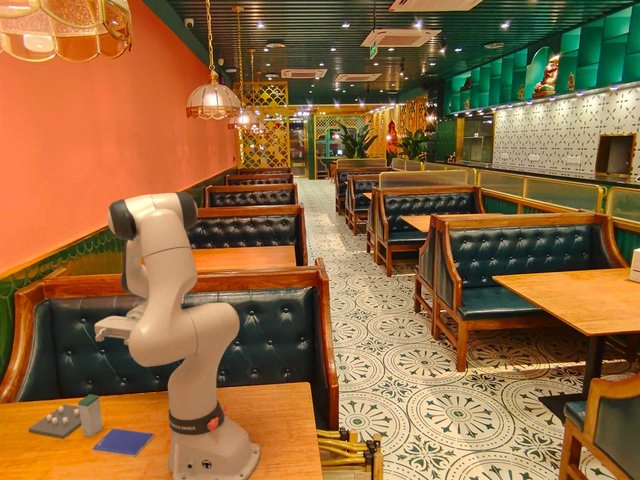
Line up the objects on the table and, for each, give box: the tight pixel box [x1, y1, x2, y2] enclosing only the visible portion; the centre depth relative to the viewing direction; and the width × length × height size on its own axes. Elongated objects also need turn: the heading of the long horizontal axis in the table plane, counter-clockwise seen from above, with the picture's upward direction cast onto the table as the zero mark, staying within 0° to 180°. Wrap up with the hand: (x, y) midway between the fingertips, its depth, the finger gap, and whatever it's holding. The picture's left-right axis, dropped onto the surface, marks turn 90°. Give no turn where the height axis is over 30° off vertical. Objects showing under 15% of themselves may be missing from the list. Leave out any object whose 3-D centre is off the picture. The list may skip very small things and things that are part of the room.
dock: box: [28, 404, 82, 440], centre depth 122 cm, size 12×12×3 cm
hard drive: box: [92, 428, 155, 458], centre depth 113 cm, size 2×8×12 cm
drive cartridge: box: [77, 393, 104, 438], centre depth 117 cm, size 3×4×10 cm
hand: (111, 341), depth 124 cm, fingers open, 8 cm apart
